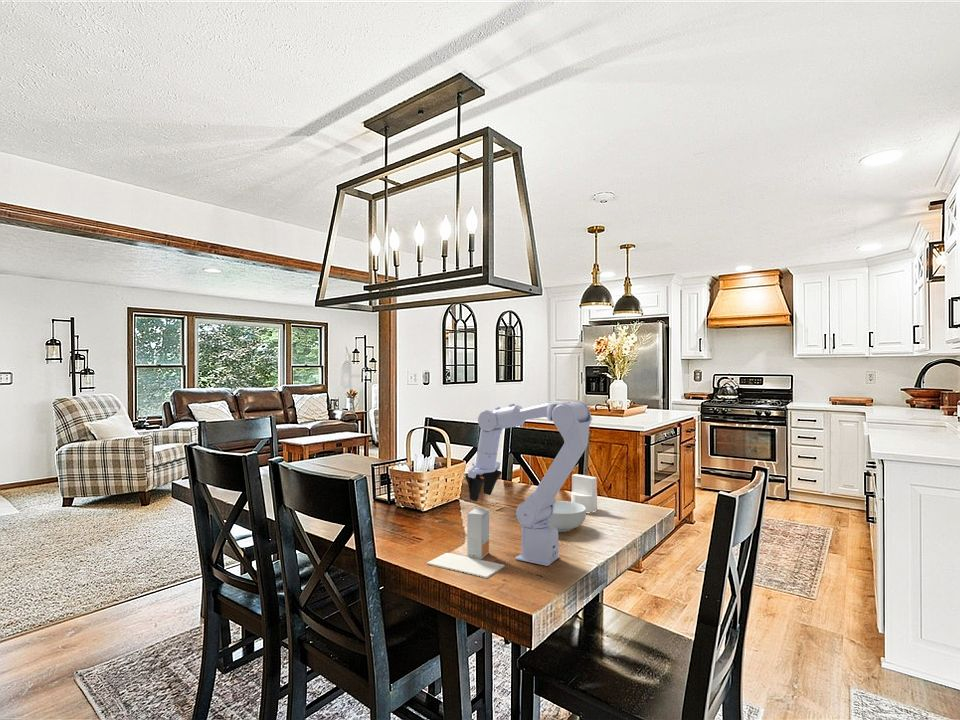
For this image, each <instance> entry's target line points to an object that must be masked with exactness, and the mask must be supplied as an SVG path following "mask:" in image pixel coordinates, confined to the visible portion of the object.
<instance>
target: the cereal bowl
mask: <svg viewBox="0 0 960 720" xmlns="http://www.w3.org/2000/svg"><path fill="white" fill-rule="evenodd" d="M586 516H587V515H586V507H585V506H583V505H581V504H578V503H574V502H571V501H567V500H556V503H555V505H554V508H553V514H552V516H551V517H550V518H549V526H551V527H553V528H556V529H557V531H558V533H568V532H570V531H572V530H573V529H575V528H578V527H580V526H581V525H582V524H583V523H584V522H585V520H586ZM567 531H568V532H567Z"/></svg>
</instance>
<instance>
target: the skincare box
mask: <svg viewBox="0 0 960 720" xmlns="http://www.w3.org/2000/svg"><path fill="white" fill-rule="evenodd" d="M466 531H467V532H466V533H467V534H466V535H467V537H466V538H467V539H466V540H467V542H466V543H467V544H466V546H467V547H466V557H470V558H475V559H479V560H482V559H483V558H484V557H486V556H487V555H488V554H490V509H487V508H478V507H476V508H474V509H472V510H470V511H469V512H468V513H467V530H466Z"/></svg>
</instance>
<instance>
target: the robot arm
mask: <svg viewBox="0 0 960 720" xmlns="http://www.w3.org/2000/svg"><path fill="white" fill-rule="evenodd" d="M539 418H547V420H548V421H549V422H553V424H554V425H555V426H554V427H556V429H557V430H558V432H559V434H560V435H561V437H562V439H563V441H564V443H563V445H562V446H561V448H560V450H559V451H558V453H557V454H556V456H555V458H554V459H553V461H552V462H551V464H550V466H549V467H548V469H547V471H546V472H545V474H544V476H543V477H542V479H541V480H540V482H539V483H538V485H537V487H536V489H535V490H534V491H533V492H531V493H530V494H529V495H528V496H527V497H526V499H525V500H524V501H523V502H521V503H519V504H518V506H517V507H516V511H515V517H516V518H517V521H518V522H519V524H520V527H521V552H520V554H518V555H517V556H515V558H514V559H515V560H517V561H522V562H527V563H531V564H536V565H542V566H546V567H547V566H550V565H551V564H552V563H554V562H555V561H557V560H558V559H559V558H560V554H559V532H558V531H557V529H556V528H553V527H551V526H549V518H550V517H551V516H552V514H553V508H554V505H555V503H556V501H557V500H556V497H557V495H558V493H559V492H560V490H561V489H562V487H563V485H564V484H565V483H566V481H567V479H568V478H569V476H570V475H571V472H572V471H574V470H573V469H574V468H575V466H576V464H577V463H578V461H579V460H580V458H581V457H582V456H583V454H584V452H585V450H586V449H587V448H588V444H589V434H590V425H591V423H592V421H593V417H592V414H591V411H590V408H589V406H588V405H587V404H586V403H585V402H583V401H581V400H580V401H579V400H577V401H573V402H571V401H557V402H547V403H543V404H539V405H533V406H530V407H526V408H523V406H521V405H519V404H515V403H510V404H508V406H506V407H500V406H497V407H495V408H494V409H489V410H488V409H485V410H483V411H482V412H480V413H479V415H478V417H477V423H478V427H479V428H480V432H479V438H478V444H477V452H476V458H475V461H473V462H472V463H471V466H472V467H470V469H468V473H465V476H464V477H465V480H466V483H467V486H468V493H469V500H471V501H474V502H477V501H478V500H479V497H480V493H481V490H482V488H483V494H485V495H488V496H491V495H492V493H493V490H494V488H495V485H496V483H497V482H498V479H499V478H501V475H502V473H503V472H502V471H501V470H500V468H501V462H499V461H497V458H498V450H499V445H500V439H501V434H502V431H503V430H504V429H509V428H515V427H520V426H523V425H524V424H525V422H526V421H528V420H533V419H539ZM481 475H483V478H482V477H481Z"/></svg>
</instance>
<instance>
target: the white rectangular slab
mask: <svg viewBox="0 0 960 720" xmlns="http://www.w3.org/2000/svg"><path fill="white" fill-rule="evenodd" d="M426 564H427V565H429V566H432V567H437V568H442V569H445V570H449V569H450V571H453V570H455V571H454V572H458V571H459V572H458V573H462V572H464V573H463V574H466V573H467V574H468V575H470V574H472V575H471V576H475V575H476V576H475V577H479V576H480V578H484V579H488V578H490V577H491V576H493V575H494V574H496V573H497V572H499V571H500V570H502V569H504V568H505V565H506V564H501V563H498V562H497V563H496V562H493V561H488V560H484V559H483V560H482V559H481V560H480V559H475V558H470V557H467V556H465V555H460V554H455V553H451V552H445V553H444V554H441V555H440V556H439V555H438V557H435V558H433V559H431V560H429V561H428V562H426ZM467 574H466V575H467Z"/></svg>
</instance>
